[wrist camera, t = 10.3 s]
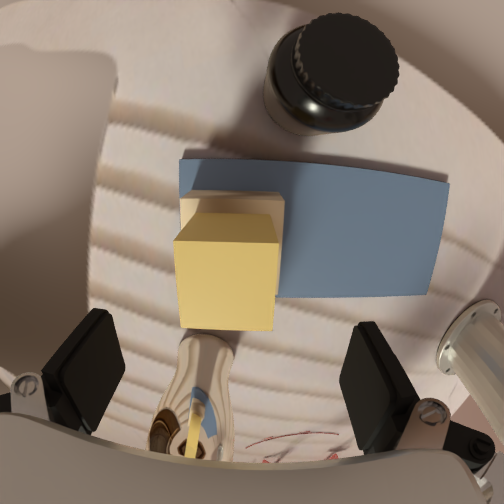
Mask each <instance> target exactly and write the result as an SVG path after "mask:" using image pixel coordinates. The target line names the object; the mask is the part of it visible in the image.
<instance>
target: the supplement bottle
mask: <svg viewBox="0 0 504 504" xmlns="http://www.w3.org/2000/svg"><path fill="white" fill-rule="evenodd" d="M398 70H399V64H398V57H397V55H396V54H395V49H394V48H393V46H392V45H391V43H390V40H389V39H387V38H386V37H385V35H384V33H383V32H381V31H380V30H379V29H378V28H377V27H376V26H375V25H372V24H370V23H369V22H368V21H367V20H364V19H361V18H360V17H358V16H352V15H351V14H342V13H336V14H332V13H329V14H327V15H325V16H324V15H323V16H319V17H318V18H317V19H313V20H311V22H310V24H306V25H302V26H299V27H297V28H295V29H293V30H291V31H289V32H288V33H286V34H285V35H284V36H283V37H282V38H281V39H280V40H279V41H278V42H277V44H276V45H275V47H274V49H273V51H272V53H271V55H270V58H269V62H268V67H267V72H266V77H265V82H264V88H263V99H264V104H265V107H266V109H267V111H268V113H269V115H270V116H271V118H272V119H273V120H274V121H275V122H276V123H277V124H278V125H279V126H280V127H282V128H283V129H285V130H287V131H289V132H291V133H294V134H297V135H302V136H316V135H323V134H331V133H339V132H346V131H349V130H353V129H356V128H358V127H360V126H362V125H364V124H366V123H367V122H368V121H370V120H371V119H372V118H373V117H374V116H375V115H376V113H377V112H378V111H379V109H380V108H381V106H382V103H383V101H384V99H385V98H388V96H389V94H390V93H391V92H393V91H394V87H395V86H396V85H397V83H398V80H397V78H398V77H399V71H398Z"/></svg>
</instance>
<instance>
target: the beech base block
mask: <svg viewBox="0 0 504 504" xmlns="http://www.w3.org/2000/svg"><path fill="white" fill-rule="evenodd" d="M284 206H285V201H284V199H283V198H282V196H281V195H280V193H279V192H267V191H236V190H191V191H189V192H188V193H187V194H185V195H184V196H183V197H181V198H180V220H181V230H182V229H183V228H184V226H185V225H186V224H187V223H188V221H189V220H190V219H191V218H192V216H193V215H194V214H195V213H239V214H270V216H271V219H272V222H273V226H274V229H275V232H276V235H277V238H278V242H279V252H278V266H277V280H276V292H275V295H278V287H279V275H280V263H281V250H282V236H283V222H284Z"/></svg>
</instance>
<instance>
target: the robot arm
mask: <svg viewBox="0 0 504 504" xmlns="http://www.w3.org/2000/svg"><path fill="white" fill-rule="evenodd" d="M436 362H437V366H438V368H439V369H440V371H441V372H442V373H443V374H446V375H455V374H456V375H457V376H458V377H459V379H460V380H461V382H462V383H463V384H464V386H465V387H466V389H467V390H468V392H469V393H470V394H471V396H472V397H473V399H474V400H475V401H476V403H477V405H478V406H479V408H480V409H481V411H482V412H483V414H484V416H485V417H486V419H487V420H488V422H489V423H490V425H491V427H492V428H493V430H494V432H495V433H496V435H497V436H498V438H499V440H500V441H501V443H502V444H503V445H504V325H503V324H502V323H501V310H500V308H499V306H498V305H497V304H496V303H495V302H493V301H492V300H482V301H480V302H477V303H476V304H474V305H472V306H471V307H469V308H468V309H467V310H465V311H464V312H463V313H462V314H461V315H460V316H459V317H458V318H457V319H456V321H455V322H454V323H453V324H452V325H451V327H450V328H449V330H448V331H447V333H446V334H445V336H444V338H443V339H442V342H441V344H440V346H439V349H438V352H437V357H436ZM41 371H42V373H43V375H42V376H41V377H40V376H39V375H37V374H35V373H31V372H29V373H24V374H21V375H19V376H18V377H16V378H15V380H14V381H13V382H12V384H11V392H10V393H6V394H3V395H0V504H504V454H503V453H502V452H501V451H499V452H498V453H496V452H495V445H494V442H493V440H492V439H491V438H490V437H489V436H488V435H486V434H484V433H482V432H479V431H476V430H474V429H471V428H469V427H466V426H463V425H461V424H458V423H456V422H453V421H451V420H450V417H451V414H450V410H449V408H448V407H447V406H446V405H445V404H444V403H443V402H442V401H440V400H438V399H434V398H424V399H421V400H420V398H419V396H418V394H417V393H416V391H415V389H414V387H413V385H412V383H411V382H410V380H409V378H408V376H407V374H406V373H405V371H404V369H403V367H402V366H401V364H400V362H399V360H398V359H397V357H396V356H395V354H394V353H393V351H392V350H391V348H390V346H389V345H388V343H387V341H386V340H385V338H384V336H383V335H382V333H381V331H380V330H379V328H378V326H377V325H376V323H375V322H373V321H369V322H359V324H358V326H354V328H353V332H352V336H351V339H350V343H349V347H348V350H347V354H346V357H345V360H344V364H343V367H342V370H341V374H340V378H339V383H340V387H341V390H342V394H343V397H344V400H345V403H346V407H347V410H348V414H349V417H350V420H351V424H352V427H353V431H354V434H355V438H356V441H357V445H358V448H359V450H363V452H364V455H361V456H355V457H348V458H339V459H330V460H320V461H308V462H290V463H244V462H226V461H213V460H203V459H195V458H187V457H180V456H174V455H168V454H162V453H157V452H152V451H147V450H142V449H138V448H134V447H130V446H126V445H122V444H118V443H114V442H111V441H107V440H104V439H100V438H97V437H94V436H91V433H92V431H93V432H95V431H96V429H97V428H98V425H99V423H100V421H101V419H102V417H103V415H104V413H105V411H106V408H107V406H108V404H109V402H110V400H111V398H112V396H113V394H114V392H115V390H116V388H117V386H118V384H119V382H120V380H121V378H122V376H123V374H124V372H125V362H124V359H123V356H122V352H121V349H120V345H119V341H118V337H117V334H116V330H115V326H114V322H113V317H112V315H111V314H109V312H108V311H107V310H105V309H98V308H93V309H92V310H91V311H90V312H89V313H88V314H87V316H86V317H85V318H84V319H83V320H82V321H81V322H80V324H79V325H78V326H77V327H76V328H75V330H74V331H73V332H72V333H71V334H70V335H69V337H68V338H67V339H66V340H65V341H64V343H63V344H62V345H61V346H60V347H59V349H58V350H57V351H56V352H55V354H54V355H53V356H52V357H51V359H50V360H49V361H48V362H47V364H46V365H45V366H44V368H43V369H42V370H41Z"/></svg>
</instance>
